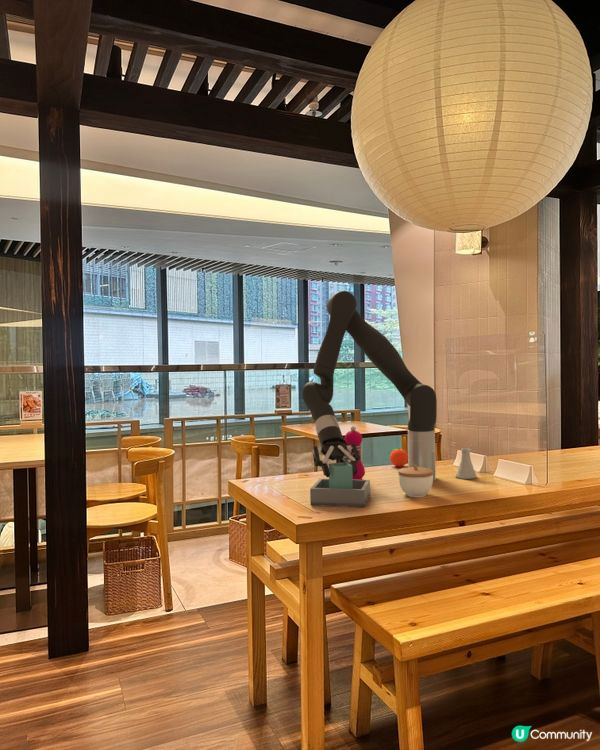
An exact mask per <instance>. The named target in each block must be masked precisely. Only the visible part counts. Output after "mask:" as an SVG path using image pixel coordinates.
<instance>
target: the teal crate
mask: <svg viewBox="0 0 600 750" xmlns="http://www.w3.org/2000/svg"><path fill="white" fill-rule="evenodd" d="M328 468H329V471H330V476H329V477H328V479H329V488H333V489H353V483H352V465H350V464H348V463H346V462H345V461H343V462H332V463H328Z"/></svg>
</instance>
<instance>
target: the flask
mask: <svg viewBox="0 0 600 750" xmlns="http://www.w3.org/2000/svg"><path fill="white" fill-rule="evenodd" d="M460 451H461V459H460V462H459V466H458V468H457V472H456V474H455V478H458V479H462V480H472V479H473V480H474V479H476V478H477V473H476V470H475V469H474V466H473V462H472V459H471V448H461V450H460Z"/></svg>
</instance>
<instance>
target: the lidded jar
mask: <svg viewBox="0 0 600 750" xmlns="http://www.w3.org/2000/svg"><path fill="white" fill-rule="evenodd" d="M397 473H398V482H399V486H400V489H401V491H402V492H403V493H405V495H406V496H407V497H409V498H410V497H411V498H424V497H426V496H427V494H428V493H430V491H431V489H432V487H433V482H434V481H433V470H431V469H428V468H422V467H417V465H414V467H401V468H399V469H398V471H397Z"/></svg>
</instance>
